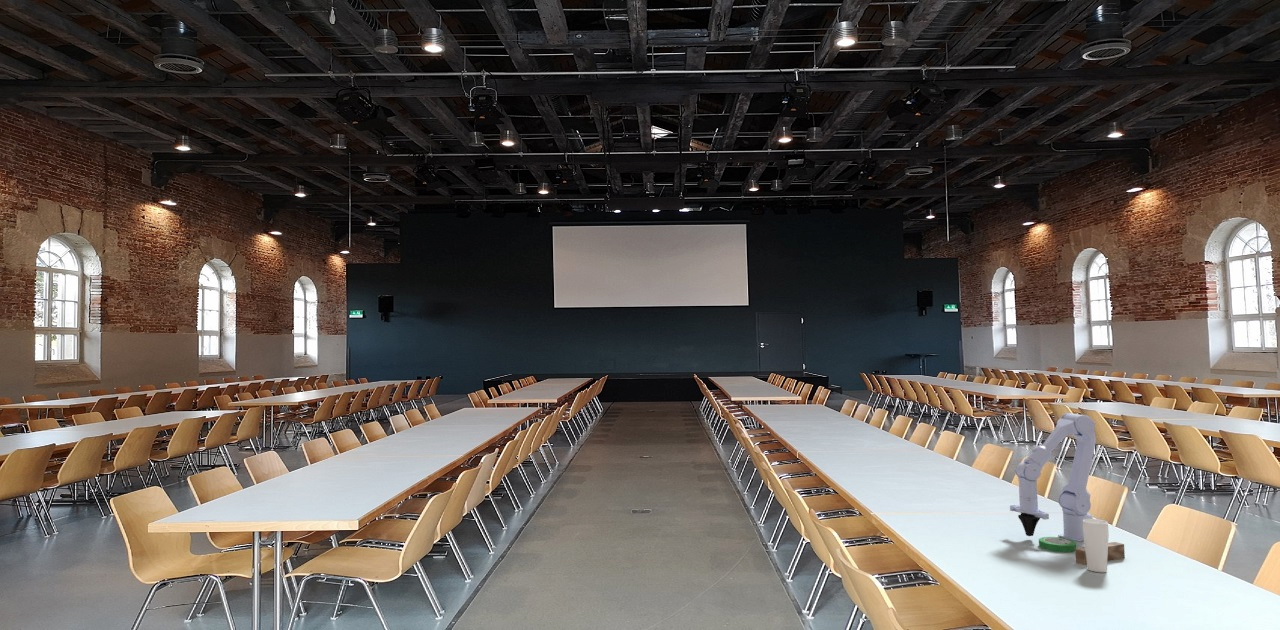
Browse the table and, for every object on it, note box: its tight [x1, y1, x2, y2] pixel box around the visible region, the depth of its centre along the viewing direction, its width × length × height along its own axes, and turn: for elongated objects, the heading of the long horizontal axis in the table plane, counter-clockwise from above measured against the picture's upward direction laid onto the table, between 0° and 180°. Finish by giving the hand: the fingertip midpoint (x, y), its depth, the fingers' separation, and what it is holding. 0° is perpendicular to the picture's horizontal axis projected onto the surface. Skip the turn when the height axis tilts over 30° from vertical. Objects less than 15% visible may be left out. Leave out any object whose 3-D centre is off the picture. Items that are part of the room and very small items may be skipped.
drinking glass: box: [1083, 518, 1110, 573], centre depth 223 cm, size 7×7×15 cm
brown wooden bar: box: [1074, 541, 1126, 566], centre depth 232 cm, size 18×3×4 cm, turn 110°
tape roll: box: [1038, 536, 1077, 554], centre depth 246 cm, size 11×11×3 cm
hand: (1029, 535), depth 257 cm, fingers closed
